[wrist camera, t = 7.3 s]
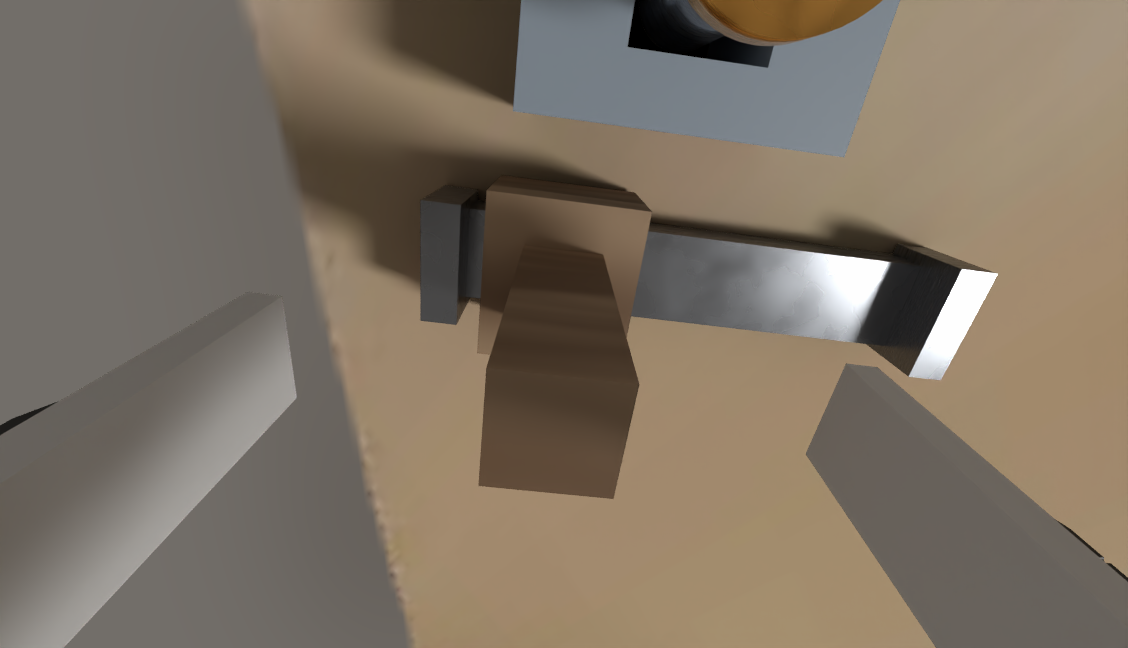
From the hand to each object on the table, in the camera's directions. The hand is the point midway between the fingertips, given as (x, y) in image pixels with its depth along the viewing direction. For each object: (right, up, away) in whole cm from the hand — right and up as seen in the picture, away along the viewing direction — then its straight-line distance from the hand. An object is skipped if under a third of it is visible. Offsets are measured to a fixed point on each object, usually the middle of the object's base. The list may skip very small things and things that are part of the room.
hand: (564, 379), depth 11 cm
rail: (+6, +4, +12) cm, 14 cm away
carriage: (0, +5, +11) cm, 12 cm away
